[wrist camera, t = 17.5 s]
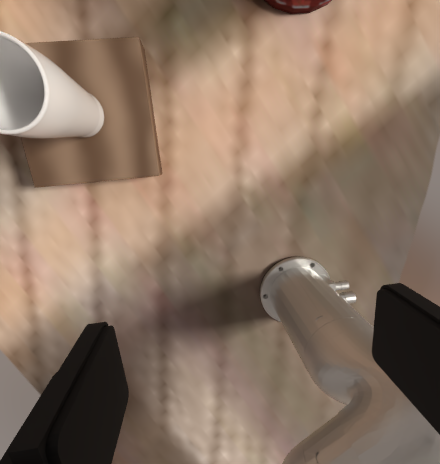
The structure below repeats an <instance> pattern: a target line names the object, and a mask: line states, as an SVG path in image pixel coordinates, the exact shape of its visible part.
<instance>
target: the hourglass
mask: <svg viewBox="0 0 440 464" xmlns="http://www.w3.org/2000/svg"><path fill="white" fill-rule="evenodd" d="M264 1H266V2H267V3H268V4H269V5H271V6H272V7H273V8H275V9H278V10H281V11H284V12H287V13H290V14H296V13H310V12H312V11H314V10H317V9H319V8H321V7H323V6H325V5H327V4H328V3H329V2H331V1H332V0H264Z"/></svg>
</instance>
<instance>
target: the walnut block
mask: <svg viewBox="0 0 440 464" xmlns="http://www.w3.org/2000/svg"><path fill="white" fill-rule="evenodd" d="M25 44H27V45H29V46H31V47H32V48H34V49H35V50H37V51H39V52H40V53H41V54H43V55H44V56H46V57H47V58H49V59H50V60H51V61H53V62H54V63H55V64H56V65H57V66H59V67H60V68H61V69H62V70H63V71H64V72H65V73H67V74H68V75H69V76H70V77H71V78H72V79H73V80H74V81H76V82H77V83H78V84H79V85H80V86H81V87H82V88H84V89H85V90H86V91H87V92H89V93H90V94H92V95H93V96H94V97H95V98H96V99H97V100H98V101H99V103H100V104H101V106H102V108H103V112H104V123H103V126H102V128H101V129H100V131H99V132H98V133H97V134H95V135H93V136H91V137H86V138H82V137H63V138H45V139H39V138H24V137H21V140H22V144H23V147H24V151H25V154H26V158H27V161H28V165H29V168H30V172H31V175H32V179H33V182H34V186H35V187H46V186H56V185H67V184H77V183H88V182H99V181H109V180H120V179H130V178H141V177H151V176H160V175H161V174H162V168H161V161H160V154H159V147H158V140H157V133H156V126H155V119H154V112H153V105H152V99H151V92H150V85H149V78H148V71H147V64H146V57H145V50H144V48H143V45H142V43H141V41H140V39H139V37H128V38H110V39H92V40H75V41H57V42H39V43H25Z"/></svg>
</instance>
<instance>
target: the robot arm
mask: <svg viewBox="0 0 440 464" xmlns="http://www.w3.org/2000/svg"><path fill="white" fill-rule="evenodd" d="M279 267H280V268H279ZM348 288H349V283H348V282H347V281H339V282H335V283H334V282H333V281H331V280H330V277H329V274H328V273H327V271H326V269H325V268H324V267H323V266H322V265H321V264H319V263H318V262H317V261H315V260H313V259H311V258H307V257H291V258H287V259H284V260H282V261H280V262H278V263H277V264H276V265H274V266H273V267H272V268H271V269H270V270H269V271H268V272H267V273H266V275H265V276H264V278H263V281H262V283H261V287H260V299H261V303H262V305H263V307H264V309H265V311H266V312H267V313H268V314H269V315H270V316H271V317H272V318H273V319H275V320H277V321H279V322H282V324H283V326H284V328H285V330H286V332H287V333H288V335H289V337H290V339H291V341H292V343H293V345H294V346H295V348H296V350H297V352H298V354H299V356H300V358H301V360H302V361H303V363H304V365H305V367H306V369H307V371H308V372H309V374H310V376H311V378H312V379H313V381H314V382H315V384H316V385H317V386H318V387H319V388H320V389H321V390H322V391H323V392H325V393H326V394H327V395H328V396H330V397H332V398H333V399H335V400H337V401H339V402H341V403H343V404H345V405H347V406H345V407H344V408H343V409H342V410H341V411H339V412H338V414H337V415H336V416H335V417H333V418H332V419H331V420H329V421H328V422H327V423H325V424H324V425H323V426H321V427H320V428H319V429H317V430H316V431H315V432H313V433H312V434H311V435H309V436H308V437H307V438H305V439H304V440H303V441H302V442H300V443H299V444H298V445H297V446H295V447H294V448H293V449H292V450H291V451H290V452H289V453H288V455H287V456H286V458H285V459H284V461H283V463H282V464H440V307H439V306H438V305H436V304H434V303H432V302H431V301H429V300H428V299H426V298H424V297H423V296H421V295H420V294H418V293H416V292H415V291H413V290H412V289H409V288H408V287H407V286H405V285H403V284H401V283H396V284H389V285H383V286H382V287H381V289H380V290H379V291H378V292H377V299H376V309H375V320H374V327H373V326H372V325H371V324H369V323H368V322H367V321H366V320H365V319H364V318H363V317H362V316H361V315H360V314H359V313H358V312H357V311H356V310H355V309H354V308H353V307H352V306H351V305H349V303H355V302H356V296H355V294H354V292H352V291H351V292H343V293H340V294H338V293H337V292H336V290H343V289H348ZM127 402H128V386H127V381H126V377H125V373H124V368H123V364H122V360H121V356H120V351H119V347H118V343H117V339H116V334H115V330H114V327H113V326H108V324H107V322H101V323H94V324H88V325H87V326H86V327H85V329H84V330H83V332H82V334H81V335H80V337H79V338H78V340H77V342H76V343H75V345H74V346H73V348H72V350H71V351H70V353H69V355H68V356H67V358H66V359H65V361H64V363H63V364H62V366H61V368H60V369H59V371H58V372H57V373H56V374H55V375H54V376H53V377H52V379H51V380H50V382H49V384H48V385H47V387H46V388H45V390H44V392H43V393H42V395H41V396H40V398H39V400H38V401H37V403H36V404H35V406H34V408H33V409H32V411H31V412H30V414H29V416H28V417H27V419H26V421H25V422H24V424H23V426H22V427H21V429H20V430H19V432H18V433H17V435H16V437H15V438H14V440H13V441H12V443H11V444H10V446H9V448H8V449H7V451H6V452H5V454H4V456H3V457H2V459H1V460H0V464H111V463H112V459H113V455H114V452H115V448H116V444H117V440H118V436H119V432H120V429H121V425H122V421H123V417H124V413H125V409H126V406H127Z"/></svg>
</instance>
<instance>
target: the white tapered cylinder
mask: <svg viewBox="0 0 440 464" xmlns="http://www.w3.org/2000/svg"><path fill="white" fill-rule="evenodd" d="M103 123H104V112H103V108H102V106H101V104H100V103H99V101H98V100H97V99H96V98H95V97H94V96H93V95H92V94H90V93H89V92H87V91H86V90H85V89H84V88H82V87H81V86H80V85H79V84H78V83H77V82H76V81H74V80H73V79H72V78H71V77H70V76H69V75H68V74H67V73H65V72H64V71H63V70H62V69H61V68H60V67H59V66H57V65H56V64H55V63H54V62H53V61H51V60H50V59H49V58H47V57H46V56H44V55H43V54H41V53H40V52H39V51H37V50H35V49H34V48H32V47H31V46H29V45H27V44H25V43H24V42H22V41H20V40H18V39H17V38H15V37H13V36H11V35H9V34H7V33H4V32H2V31H0V134H6V135H11V136H17V137H24V138H39V139H45V138H63V137H82V138H86V137H91V136H93V135H95V134H97V133H98V132H99V131H100V129H101V128H102V126H103Z"/></svg>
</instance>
